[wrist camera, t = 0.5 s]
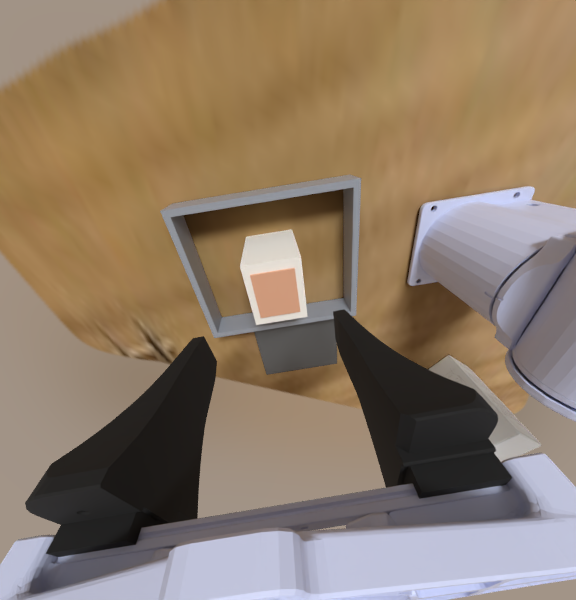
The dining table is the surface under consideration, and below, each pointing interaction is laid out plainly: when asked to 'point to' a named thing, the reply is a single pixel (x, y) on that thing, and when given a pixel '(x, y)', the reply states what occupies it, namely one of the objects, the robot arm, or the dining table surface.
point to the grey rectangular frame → (177, 210)
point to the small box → (509, 430)
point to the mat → (298, 346)
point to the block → (274, 277)
